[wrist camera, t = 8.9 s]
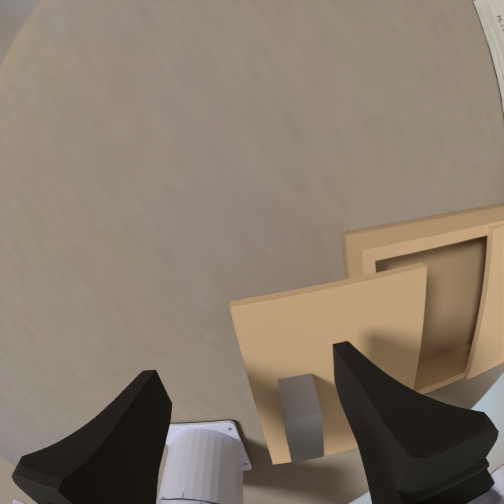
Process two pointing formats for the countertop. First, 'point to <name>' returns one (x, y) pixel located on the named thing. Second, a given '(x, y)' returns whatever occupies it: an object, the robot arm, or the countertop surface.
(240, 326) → the lid flap
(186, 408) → the countertop surface
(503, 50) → the hard drive box
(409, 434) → the robot arm
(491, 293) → the carton
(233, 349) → the countertop surface
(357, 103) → the countertop surface
